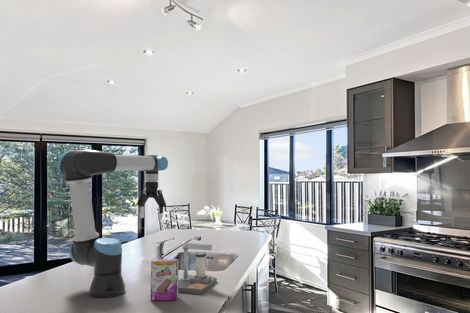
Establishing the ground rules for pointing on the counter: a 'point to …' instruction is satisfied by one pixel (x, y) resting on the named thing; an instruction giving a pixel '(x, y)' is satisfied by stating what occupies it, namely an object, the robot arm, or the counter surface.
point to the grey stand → (193, 280)
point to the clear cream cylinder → (200, 264)
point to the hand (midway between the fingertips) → (150, 218)
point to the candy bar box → (164, 279)
